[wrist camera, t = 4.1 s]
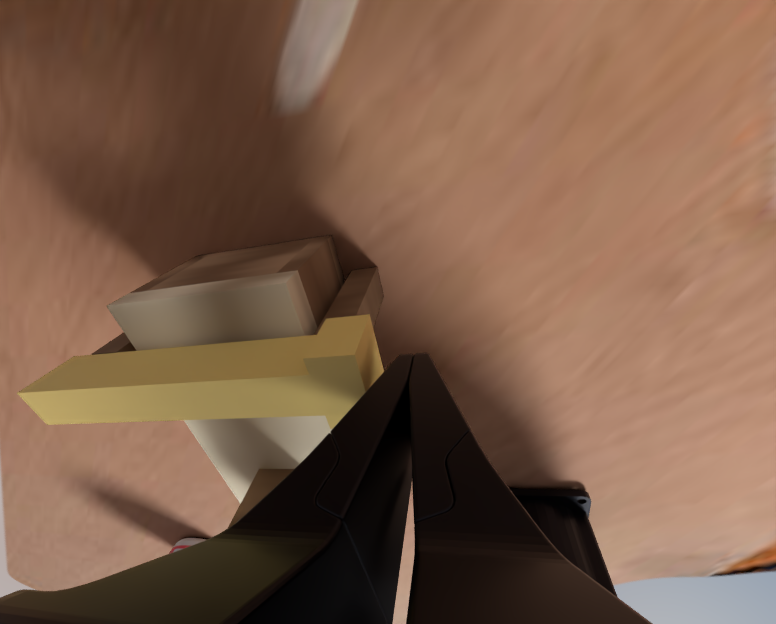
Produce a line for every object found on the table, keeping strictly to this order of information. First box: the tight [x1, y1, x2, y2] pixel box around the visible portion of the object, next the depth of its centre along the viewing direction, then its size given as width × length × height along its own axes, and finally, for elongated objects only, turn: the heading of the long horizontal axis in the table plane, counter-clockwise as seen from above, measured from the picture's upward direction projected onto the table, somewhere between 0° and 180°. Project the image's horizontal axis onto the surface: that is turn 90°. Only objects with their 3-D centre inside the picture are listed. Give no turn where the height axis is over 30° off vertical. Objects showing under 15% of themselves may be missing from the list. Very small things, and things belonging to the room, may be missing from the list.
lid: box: [107, 270, 332, 528], centre depth 13 cm, size 7×14×5 cm, turn 11°
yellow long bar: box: [17, 314, 384, 429], centre depth 11 cm, size 12×3×2 cm, turn 101°
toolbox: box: [92, 235, 384, 355], centre depth 16 cm, size 10×14×5 cm
